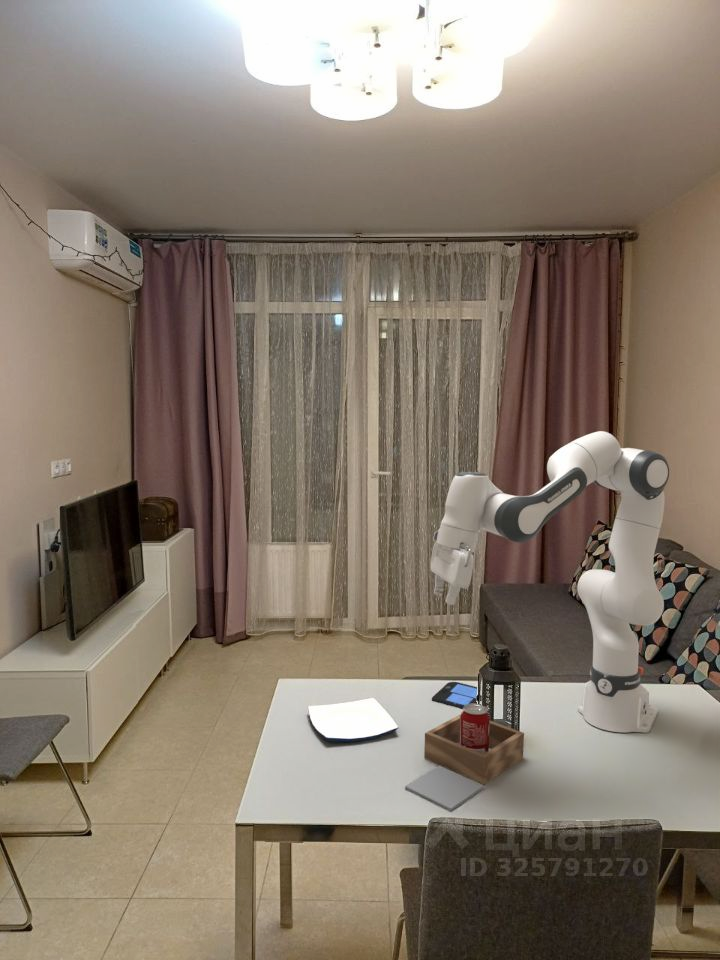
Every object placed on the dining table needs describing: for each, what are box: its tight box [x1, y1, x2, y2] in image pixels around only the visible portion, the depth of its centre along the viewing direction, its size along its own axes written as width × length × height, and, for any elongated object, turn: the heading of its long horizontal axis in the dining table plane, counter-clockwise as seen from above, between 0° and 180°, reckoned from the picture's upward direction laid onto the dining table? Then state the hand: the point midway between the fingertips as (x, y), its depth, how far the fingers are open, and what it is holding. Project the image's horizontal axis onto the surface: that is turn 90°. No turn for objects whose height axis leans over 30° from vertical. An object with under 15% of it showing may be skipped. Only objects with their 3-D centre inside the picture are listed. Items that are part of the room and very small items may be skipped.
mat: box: [404, 765, 485, 812], centre depth 147 cm, size 12×12×1 cm
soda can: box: [459, 703, 491, 754], centre depth 159 cm, size 7×7×12 cm
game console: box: [431, 681, 477, 710], centre depth 193 cm, size 14×13×2 cm
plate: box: [307, 697, 399, 742], centre depth 176 cm, size 20×20×3 cm
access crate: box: [423, 714, 525, 785], centre depth 160 cm, size 16×16×6 cm
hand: (443, 599), depth 156 cm, fingers open, 8 cm apart
